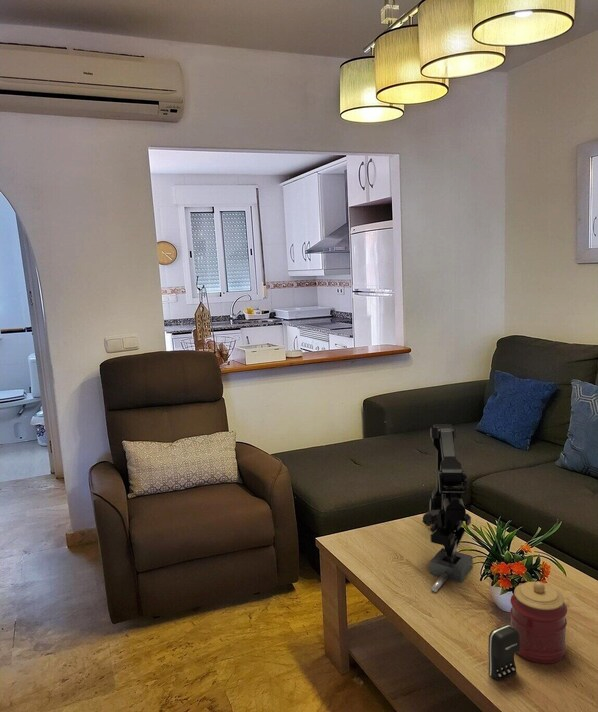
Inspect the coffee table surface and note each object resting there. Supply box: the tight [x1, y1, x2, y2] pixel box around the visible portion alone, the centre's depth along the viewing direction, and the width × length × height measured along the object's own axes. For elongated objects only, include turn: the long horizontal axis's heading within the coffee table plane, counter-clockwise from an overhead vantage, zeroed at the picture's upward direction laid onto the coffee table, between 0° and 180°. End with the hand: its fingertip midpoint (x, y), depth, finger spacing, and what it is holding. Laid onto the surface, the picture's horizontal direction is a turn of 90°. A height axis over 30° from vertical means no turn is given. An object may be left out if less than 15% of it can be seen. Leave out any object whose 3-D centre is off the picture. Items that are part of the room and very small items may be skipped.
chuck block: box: [429, 547, 474, 594], centre depth 178 cm, size 19×10×4 cm, turn 145°
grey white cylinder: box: [446, 535, 458, 562], centre depth 181 cm, size 3×3×8 cm
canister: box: [510, 580, 568, 665], centre depth 144 cm, size 13×13×18 cm
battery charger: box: [488, 624, 520, 681], centre depth 136 cm, size 7×4×11 cm, turn 116°
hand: (451, 553), depth 181 cm, fingers closed on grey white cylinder, 3 cm apart
